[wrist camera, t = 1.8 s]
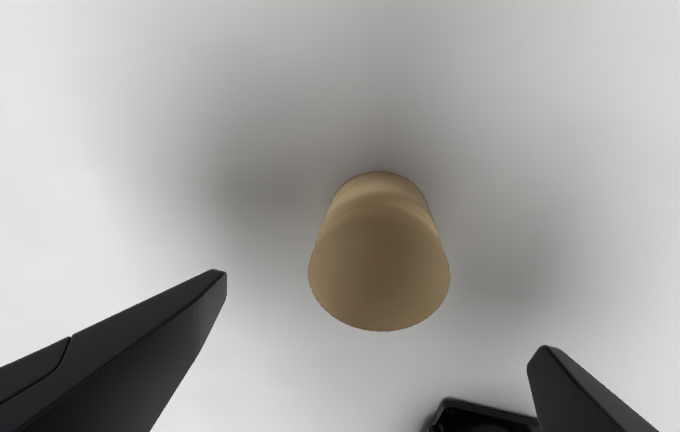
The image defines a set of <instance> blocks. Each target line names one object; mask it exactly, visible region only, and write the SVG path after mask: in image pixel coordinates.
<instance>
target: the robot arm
mask: <svg viewBox="0 0 680 432" xmlns="http://www.w3.org/2000/svg"><path fill="white" fill-rule="evenodd" d="M226 296H227V274H226V272H224V271H220V270H216V269H211V270H208V271H206V272H204V273H202V274H200V275H198V276H196V277H193V278H191V279H189V280H187V281H185V282H183V283H181V284H179V285H177V286H174V287H172V288H170V289H168V290H166V291H164V292H162V293H160V294H158V295H155V296H153V297H151V298H149V299H147V300H145V301H143V302H141V303H138V304H136V305H134V306H132V307H130V308H128V309H126V310H124V311H122V312H119V313H117V314H115V315H113V316H111V317H109V318H107V319H105V320H102V321H100V322H98V323H96V324H94V325H92V326H90V327H88V328H86V329H83V330H81V331H79V332H77V333H75V334H73V335H72V337H66V338H64V339H62V340H60V341H58V342H56V343H54V344H51V345H49V346H47V347H45V348H43V349H40V350H38V351H36V352H34V353H32V354H29V355H27V356H25V357H23V358H21V359H18V360H16V361H14V362H12V363H9V364H7V365H4V366H2V367H0V432H150V430H151V429H152V427H153V426H154V424H155V422H156V421H157V419H158V418H159V416H160V414H161V413H162V411H163V410H164V408H165V407H166V405H167V403H168V402H169V400H170V399H171V397H172V395H173V394H174V392H175V391H176V389H177V387H178V386H179V384H180V383H181V381H182V380H183V378H184V376H185V375H186V373H187V372H188V370H189V368H190V367H191V365H192V364H193V362H194V361H195V359H196V357H197V356H198V354H199V352H200V351H201V349H202V347H203V345H204V343H205V341H206V339H207V337H208V335H209V333H210V331H211V329H212V327H213V325H214V323H215V321H216V318H217V316H218V314H219V312H220V310H221V308H222V306H223V304H224V302H225V300H226ZM527 375H528V380H529V384H530V388H531V392H532V396H533V401H534V405H535V409H536V413H537V417H538V421H537V420H533V419H528V418H524V417H520V416H516V415H511V414H507V413H503V412H499V411H494V410H490V409H486V408H481V407H477V406H473V405H469V404H464V403H460V402H456V401H445V402H443V404H442V405H441V407H440V409H439V410H438V412H437V414H436V416H435V418H434V419H433V421H432V423H431V425H430V426H429V427H428V428H427V430H426V431H425V432H659V431H658V430H657V429H655V428H654V427H653V426H652V425H651V424H649V423H648V422H647V421H646V420H645V419H643V418H642V417H641V416H640V415H639V414H637V413H636V412H635V411H634V410H633V409H631V408H630V407H629V406H628V405H627V404H625V403H624V402H623V401H622V400H621V399H619V398H618V397H617V396H616V395H615V394H613V393H612V392H611V391H610V390H609V389H607V388H606V387H605V386H604V385H603V384H601V383H600V382H599V381H598V380H597V379H595V378H594V377H593V376H592V375H591V374H589V373H588V372H587V371H586V370H585V369H583V368H582V367H581V366H580V365H579V364H577V363H576V362H575V361H574V360H573V359H571V358H570V357H569V356H568V355H567V354H565V353H564V352H563V351H562V350H560V349H559V348H556V347H551V346H547V345H542V346H540V347H539V348H538V350H537V351H536V352H535V354H534V355H533V357H532V358H531V360H530V361H529V363H528V365H527Z"/></svg>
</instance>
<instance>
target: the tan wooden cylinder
mask: <svg viewBox="0 0 680 432" xmlns="http://www.w3.org/2000/svg"><path fill="white" fill-rule="evenodd" d="M308 277H309V283H310V287H311V289H312V292H313V294H314V296H315V297H316V299H317V301H318V302H319V303H320V305H321V306H322V307H323V308H324V309H325V310H326V311H327V312H328V313H329V314H331V315H332V316H333V317H335V318H336V319H338V320H339V321H341V322H343V323H345V324H347V325H350V326H353V327H356V328H359V329H363V330H369V331H395V330H400V329H404V328H407V327H410V326H413V325H415V324H417V323H419V322H421V321H423V320H424V319H426V318H427V317H429V316H430V315H431V314H432V313H433V312H434V311H435V310H436V309H437V308H438V307H439V306H440V304H441V303H442V302H443V300H444V298H445V296H446V294H447V291H448V288H449V282H450V270H449V265H448V262H447V259H446V256H445V253H444V250H443V247H442V244H441V241H440V239H439V236H438V233H437V230H436V227H435V224H434V222H433V219H432V216H431V213H430V210H429V207H428V205H427V202H426V199H425V197H424V196H423V194H422V193H421V191H420V190H419V189H418V188H417V187H416V186H415V185H414V184H413V183H412V182H410V181H409V180H407V179H406V178H404V177H402V176H399V175H397V174H393V173H389V172H369V173H364V174H361V175H358V176H356V177H354V178H352V179H350V180H349V181H347V182H346V183H345V184H344V185H343V186H341V187H340V189H339V190H338V191H337V192H336V194H335V196H334V197H333V199H332V202H331V204H330V207H329V209H328V212H327V215H326V217H325V220H324V223H323V225H322V228H321V231H320V233H319V236H318V239H317V241H316V244H315V247H314V249H313V252H312V255H311V258H310V262H309V268H308Z"/></svg>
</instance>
